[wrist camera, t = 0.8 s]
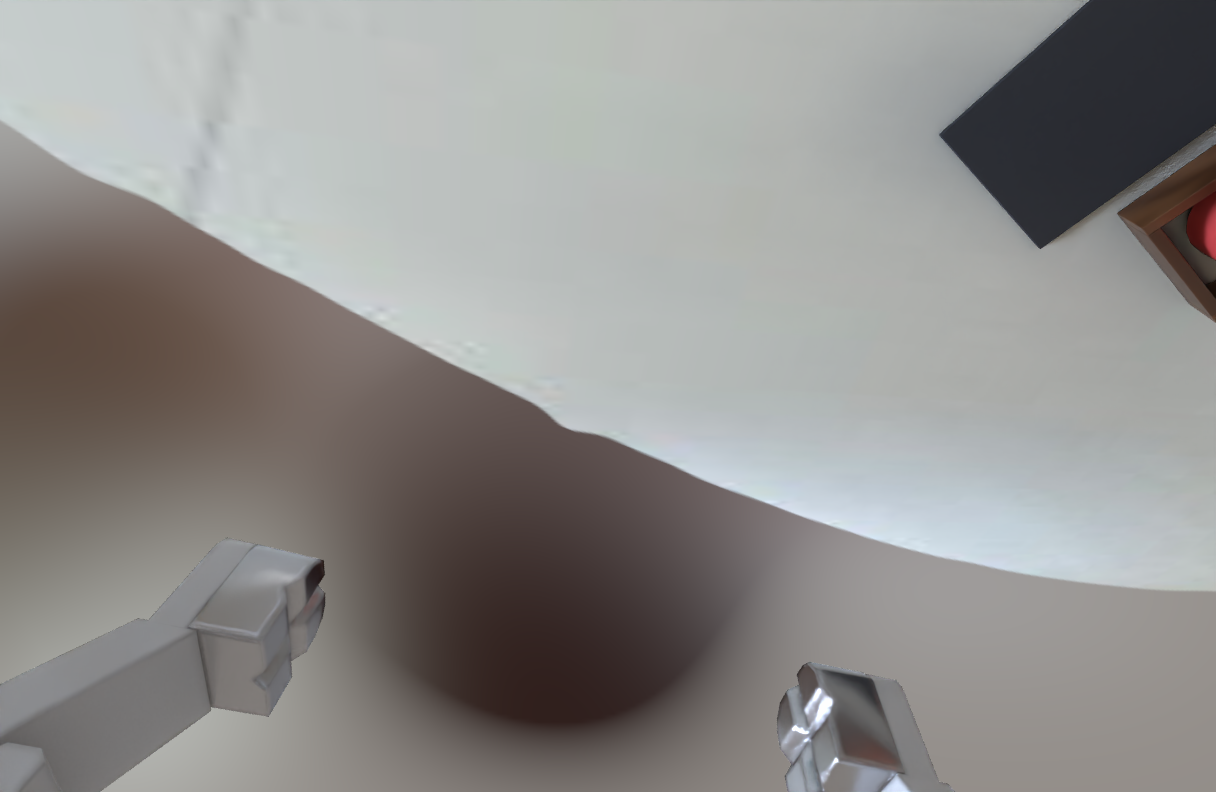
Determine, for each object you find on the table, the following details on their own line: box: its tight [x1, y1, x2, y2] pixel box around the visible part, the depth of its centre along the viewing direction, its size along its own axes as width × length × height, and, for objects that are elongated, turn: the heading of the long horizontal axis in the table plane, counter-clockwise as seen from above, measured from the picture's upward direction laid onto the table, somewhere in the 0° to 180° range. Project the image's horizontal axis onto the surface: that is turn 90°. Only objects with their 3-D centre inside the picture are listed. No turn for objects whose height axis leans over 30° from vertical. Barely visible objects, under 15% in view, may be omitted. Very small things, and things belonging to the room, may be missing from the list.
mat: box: [939, 0, 1216, 249], centre depth 37 cm, size 20×12×1 cm, turn 141°
